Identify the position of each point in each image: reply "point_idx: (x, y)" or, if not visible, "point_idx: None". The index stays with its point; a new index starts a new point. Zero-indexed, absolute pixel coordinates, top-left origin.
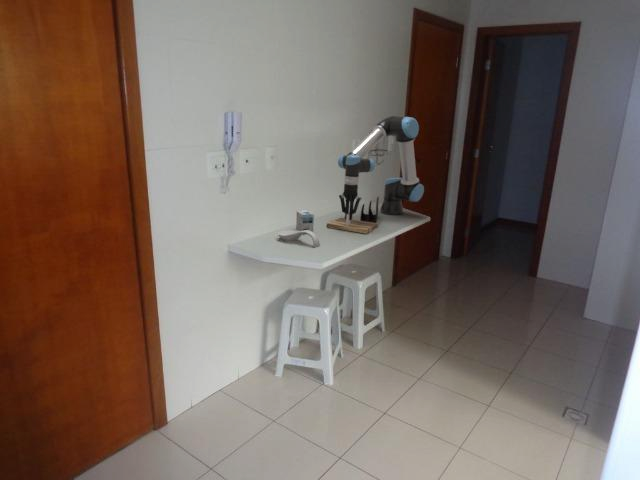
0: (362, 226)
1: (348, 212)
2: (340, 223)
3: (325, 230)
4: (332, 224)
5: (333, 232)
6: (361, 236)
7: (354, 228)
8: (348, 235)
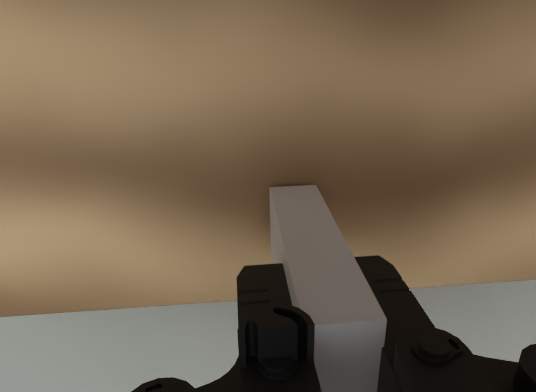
0: (522, 83)
1: (311, 365)
2: (102, 153)
3: (68, 377)
4: (56, 312)
5: (192, 385)
6: (521, 332)
7: (429, 283)
8: None
